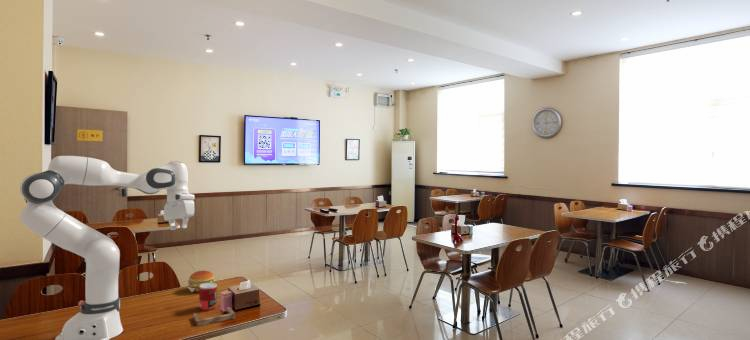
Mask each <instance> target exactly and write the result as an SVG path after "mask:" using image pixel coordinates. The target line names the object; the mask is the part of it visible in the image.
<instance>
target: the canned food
mask: <svg viewBox="0 0 750 340" xmlns="http://www.w3.org/2000/svg"><path fill="white" fill-rule="evenodd" d="M198 294H199V296H198V303H199V306H198V307H199V309H200V310H201V311H205V312H207V311H212V310H215V309H216V308H217V306H218V285H217V283H215V282H214V283H204V284H201V285H200V287H199V292H198Z"/></svg>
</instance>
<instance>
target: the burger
mask: <svg viewBox="0 0 750 340" xmlns="http://www.w3.org/2000/svg"><path fill="white" fill-rule="evenodd" d="M215 282H216V278H215V275H214V273H212V272H211V271H209V270H198V271H194V272H193V273H192V274H190V276H189V278H188V282H187V283H188V285H187V288H188V290H189V291H190V293H199V287H200V285H201V284H204V283H215Z"/></svg>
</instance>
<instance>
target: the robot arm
mask: <svg viewBox="0 0 750 340" xmlns="http://www.w3.org/2000/svg"><path fill="white" fill-rule="evenodd" d="M188 184H189V170H188V167H187V165H186V164H185V163H183V162H181V161H174V160H173V161H172V160H171V161H169V162H168V163H166V164H164V165H162V166H159V167H155V168H151V169H149V170H148V171H146V172H144V173H143V172H142V173H139V174H137V173H132V172H125V171H118V170H116V169H114V168H113V167H111V165H110V163H108V162H107V161H106V160H102V159H98V158H94V157H89V156H88V157H87V156H79V155H59V156H58V155H57V156H55V157H53V158H52V159H51V161H50V162H49V164H48V167H47V170H45V171H42V172H36V173H31V174H29V175H27V176H26V177H25V178H24V179H23V180H22V181H21V183H20V185H19V191H20V194H21V195H22V197H23V199H24V201H25V203H26V206H25V207H24V208H23V209H22V210H21V211H20V214H19V220H20V223H21V224H23V225H24V226H25V227H26V228H28V229H29V230H30V231H32V232H33V233H35V234H36V235H38V236H39V237H41V238H43V239H44V240H47V242H50V243H51V244H54V245H55V246H57V247H59V248H61V249H62V250H65V251H69V252H71V253H73V254H76V255H78V256H80V257H81V258H83V259H84V260H85V262H86V263H85V282H84V285H85V300H80V301H78V308H79V310H78V311H79V312H77V313H76V314H75V315H73V316H72V317H70V318H69V319H68V320H67V321H66V322H65V323H64V325H63V326H62V330H61V332H60V333H59V334H58V335H57V336H56V337H55V339H54V340H110V339H113V338H115V337H117V336H119V335H120V334H121V333H122V332H123V331H124V328H123V325H122V322H121V321H122V320H121V317H120V308H121V298H120V296H119V275H120V274H119V273H120V261H121V260H120V258H121V251H120V249H119V247H118V245H117V244H116V243H115V241H114V240H113V239H112V238H111V237H109V236H107V235H105V234H104V233H102V232H100V231H99V230H96V229H94V228H92V227H90V226H88V225H87V224H85V223H84V222H82V221H80V220H78V219H77V218H75V217H73V216H72V215H69V214H68V213H66V212H64V211H63V210H61V209H59V208H58V207H57V206H56V205H55V204H54V203H53V200H55V199H56V197H57V196H59V194H60V192H61V190H62V188H63V186H64V185H80V186H92V187H93V186H95V187H96V186H115V187H123V188H130V189H136V190H138V191H140V192H141V193H143V194H146V195H154V194H157V193H159V192H160V191H162V190H166V203H165V205H164V208H163V220H164V221H168V224H169V225H170V231H175V230H177V225H176V224H175V222H176V220H180V219H182V220H181V221H182V223H181V229H187V228H188V222H189V219H190V217H191V218H192V217H194V215H195V201H194V200H195V199H196V197H195V194H193V193H190V192H189V191H190V190H189V185H188Z"/></svg>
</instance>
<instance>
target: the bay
mask: <svg viewBox="0 0 750 340" xmlns="http://www.w3.org/2000/svg"><path fill="white" fill-rule="evenodd" d="M226 312H227V314H221V315H217V316H212V317H206V318H200V316H199V314H198V312H195V313H194V312H193V313H192V315H193V317H192V318H193V321H194V322H195V324H196V327H199V326H204V325H209V324H213V323H219V322H223V321H228V320H229V321H230V320H234V319H236V312H235V311H234V310H233V309H232V307H231V306H227V307H226Z"/></svg>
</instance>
